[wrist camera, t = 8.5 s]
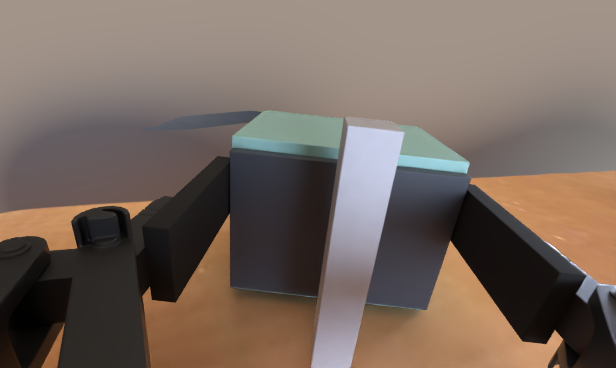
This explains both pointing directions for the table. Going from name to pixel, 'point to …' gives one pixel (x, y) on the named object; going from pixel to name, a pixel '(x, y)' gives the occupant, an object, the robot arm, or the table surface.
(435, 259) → the dark grey drawer
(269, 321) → the table surface
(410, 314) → the table surface
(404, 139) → the box
